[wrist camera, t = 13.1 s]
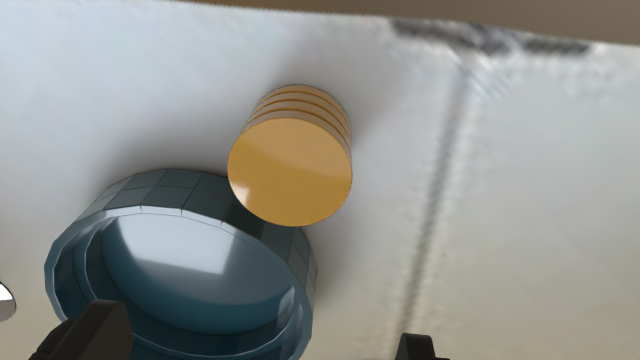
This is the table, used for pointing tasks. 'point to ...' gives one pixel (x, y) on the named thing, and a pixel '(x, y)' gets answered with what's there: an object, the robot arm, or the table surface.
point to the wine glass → (6, 303)
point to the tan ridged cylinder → (293, 157)
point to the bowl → (187, 270)
